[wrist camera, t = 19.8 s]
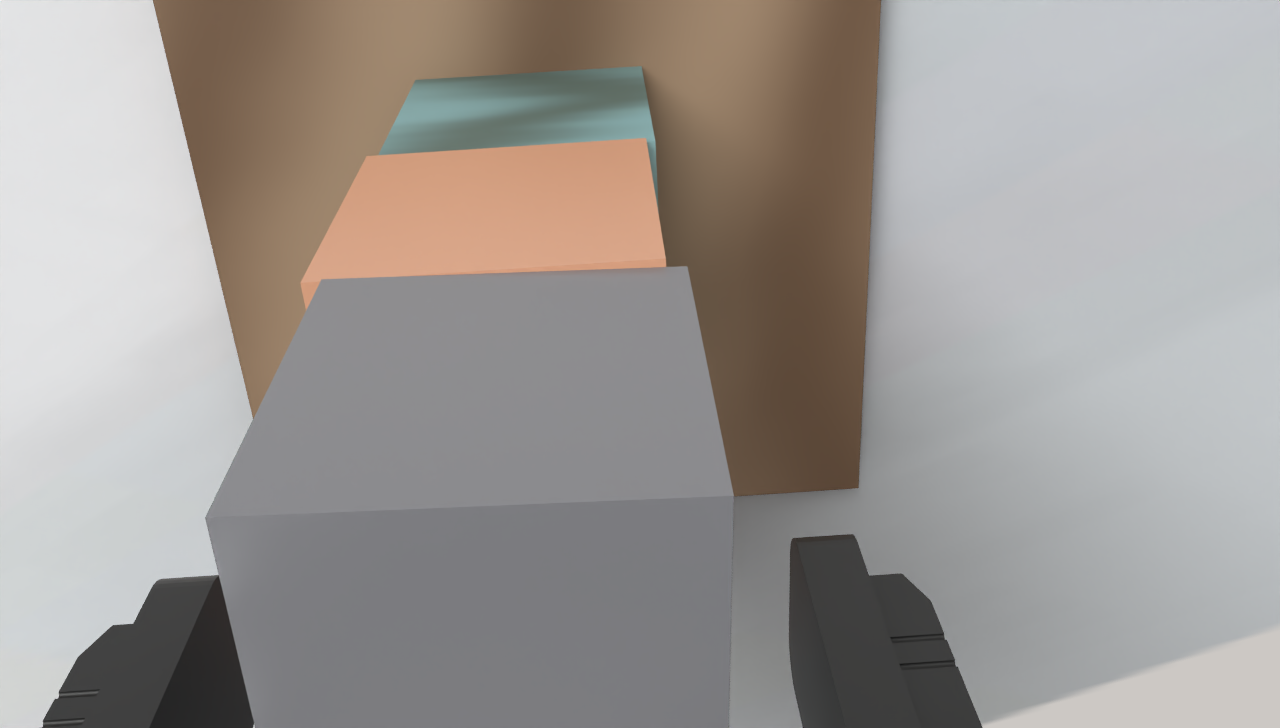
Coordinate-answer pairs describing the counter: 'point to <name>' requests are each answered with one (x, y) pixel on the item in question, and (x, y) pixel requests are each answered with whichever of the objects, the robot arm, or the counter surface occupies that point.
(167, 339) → the counter surface
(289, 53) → the plate
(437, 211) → the terracotta brick
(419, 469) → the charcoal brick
